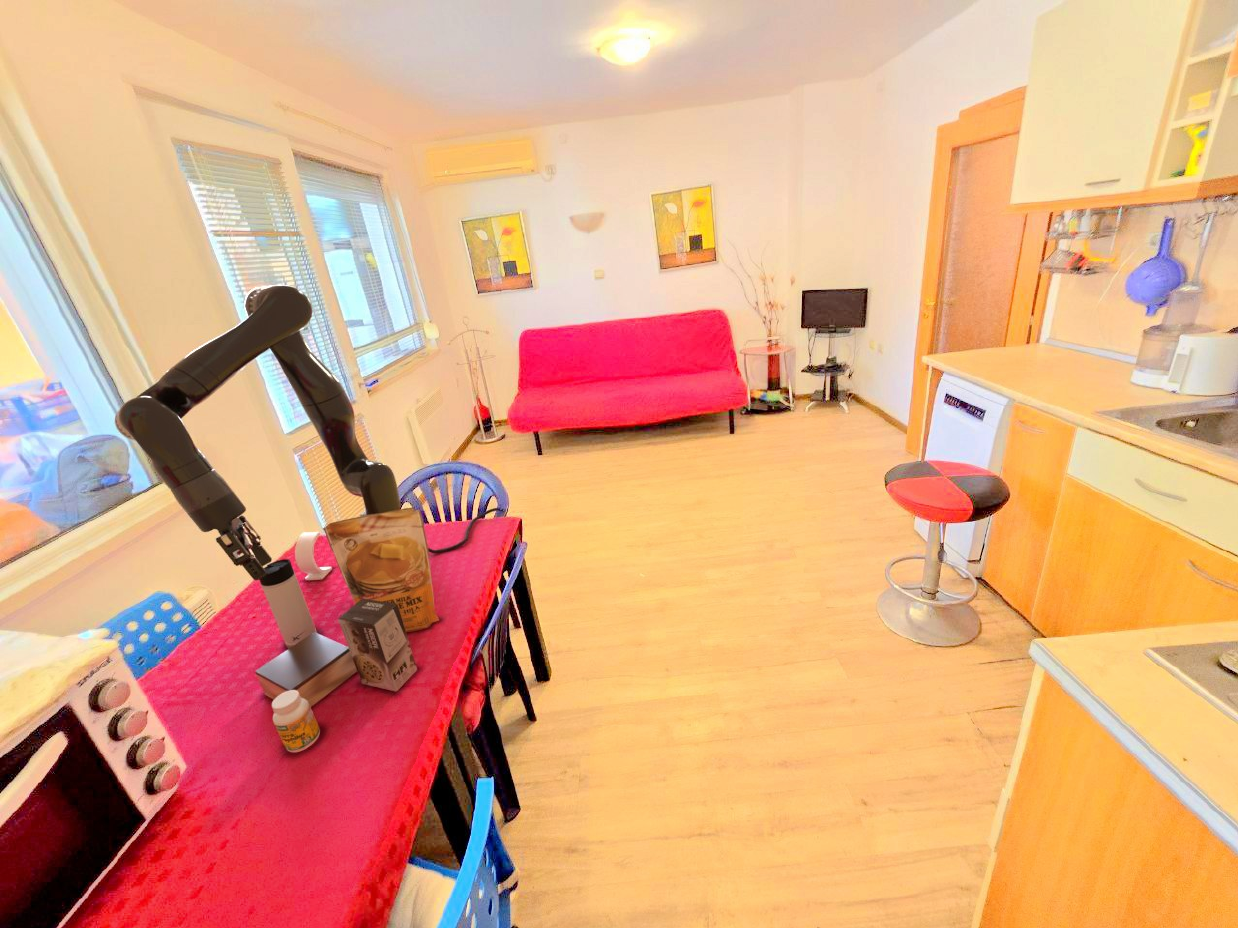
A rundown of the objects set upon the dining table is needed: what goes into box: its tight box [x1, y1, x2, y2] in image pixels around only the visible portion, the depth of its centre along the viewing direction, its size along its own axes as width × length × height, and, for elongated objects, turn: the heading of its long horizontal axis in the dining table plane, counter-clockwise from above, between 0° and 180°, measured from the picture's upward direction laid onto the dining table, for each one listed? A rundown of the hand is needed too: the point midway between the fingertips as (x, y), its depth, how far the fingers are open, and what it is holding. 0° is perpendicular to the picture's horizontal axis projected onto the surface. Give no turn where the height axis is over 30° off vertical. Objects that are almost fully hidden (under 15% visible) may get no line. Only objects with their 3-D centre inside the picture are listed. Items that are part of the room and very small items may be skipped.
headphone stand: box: [294, 531, 333, 581], centre depth 137 cm, size 5×6×12 cm
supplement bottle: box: [271, 690, 321, 754], centre depth 86 cm, size 5×5×10 cm
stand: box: [254, 632, 358, 708], centre depth 100 cm, size 12×12×6 cm
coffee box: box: [337, 599, 418, 692], centre depth 98 cm, size 9×6×16 cm
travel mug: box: [259, 558, 318, 649], centre depth 110 cm, size 6×7×20 cm
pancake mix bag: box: [322, 507, 440, 633], centre depth 110 cm, size 7×19×28 cm, turn 102°
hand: (264, 570), depth 97 cm, fingers open, 8 cm apart
